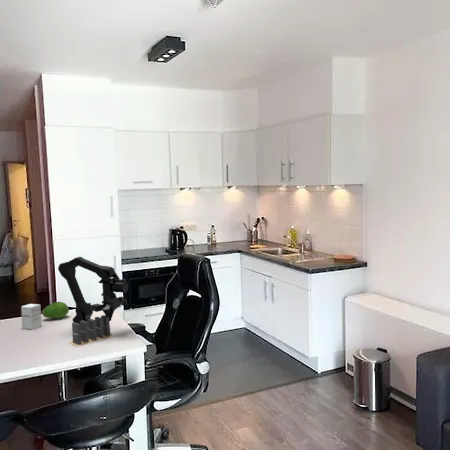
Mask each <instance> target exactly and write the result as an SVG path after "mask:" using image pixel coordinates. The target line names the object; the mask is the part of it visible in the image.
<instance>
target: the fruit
mask: <svg viewBox="0 0 450 450" xmlns="http://www.w3.org/2000/svg"><path fill="white" fill-rule="evenodd" d="M69 311H70V309H69V306H68V304H67V303H65V302H62V301H55V302H53V303H51V304H49V305H47V306H45V307H44V308H43V310H42V311H41V316H43V317H44V318H47V319H54V320H57V319H63V318H64V317H66V316H67V315H68V314H69Z"/></svg>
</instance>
